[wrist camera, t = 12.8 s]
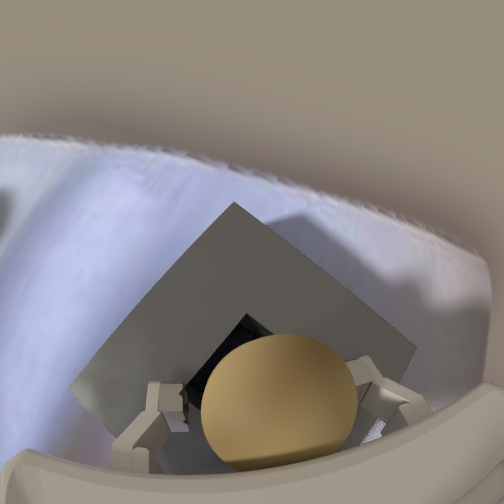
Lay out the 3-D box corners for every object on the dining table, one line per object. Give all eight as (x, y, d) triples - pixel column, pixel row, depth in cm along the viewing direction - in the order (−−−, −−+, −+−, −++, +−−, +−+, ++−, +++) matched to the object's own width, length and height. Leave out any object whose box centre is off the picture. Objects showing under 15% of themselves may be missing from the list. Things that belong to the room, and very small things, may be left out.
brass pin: (292, 370, 19) (382, 385, 8) (251, 421, 17) (294, 499, 6) (239, 330, 20) (269, 301, 8) (196, 382, 18) (167, 423, 7)
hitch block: (379, 351, 20) (416, 347, 16) (263, 501, 15) (276, 532, 10) (229, 233, 22) (233, 201, 17) (98, 382, 17) (68, 389, 12)
